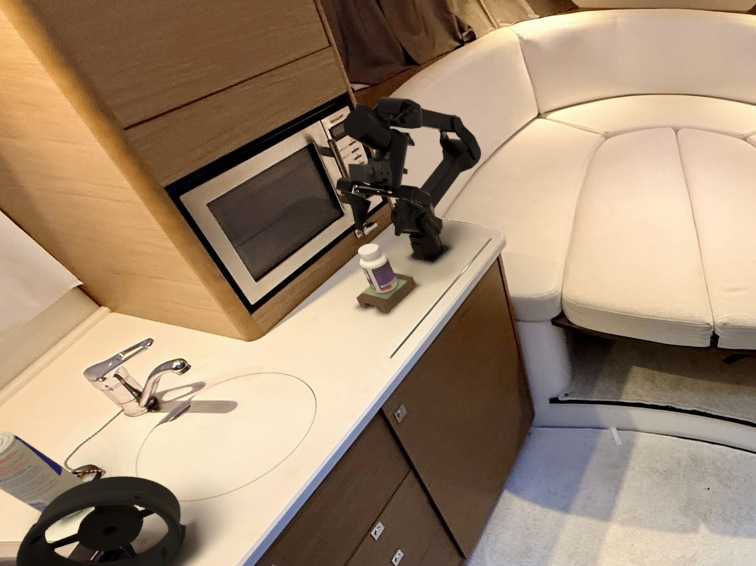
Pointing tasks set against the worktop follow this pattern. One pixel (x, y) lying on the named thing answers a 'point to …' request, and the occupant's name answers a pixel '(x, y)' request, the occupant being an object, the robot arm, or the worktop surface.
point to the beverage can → (31, 473)
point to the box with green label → (387, 294)
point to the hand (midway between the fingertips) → (377, 233)
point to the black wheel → (107, 523)
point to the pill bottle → (377, 269)
